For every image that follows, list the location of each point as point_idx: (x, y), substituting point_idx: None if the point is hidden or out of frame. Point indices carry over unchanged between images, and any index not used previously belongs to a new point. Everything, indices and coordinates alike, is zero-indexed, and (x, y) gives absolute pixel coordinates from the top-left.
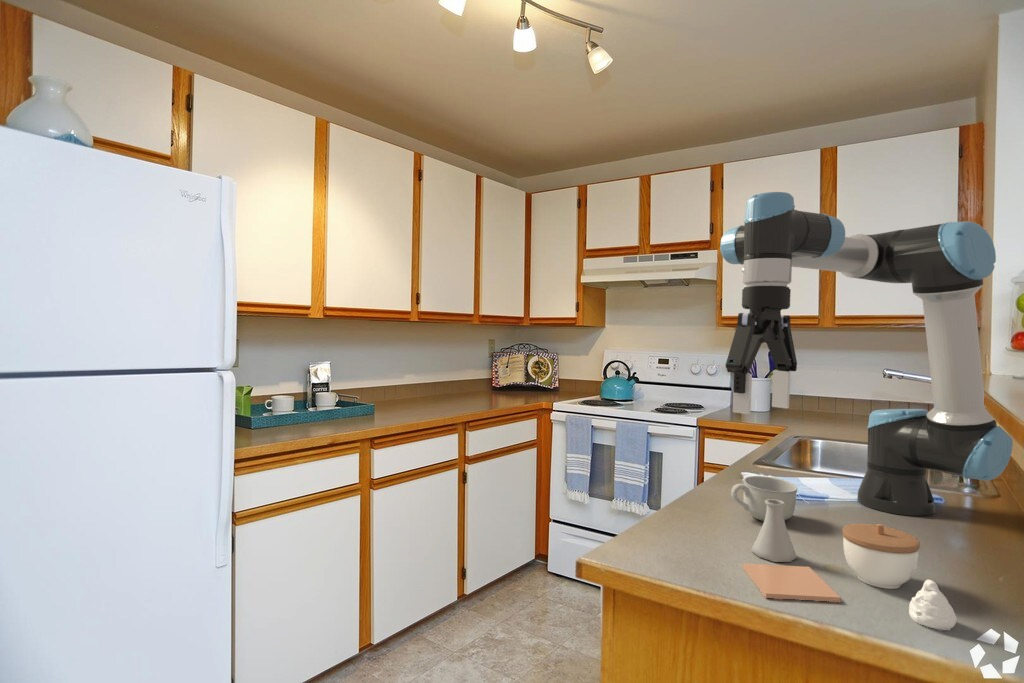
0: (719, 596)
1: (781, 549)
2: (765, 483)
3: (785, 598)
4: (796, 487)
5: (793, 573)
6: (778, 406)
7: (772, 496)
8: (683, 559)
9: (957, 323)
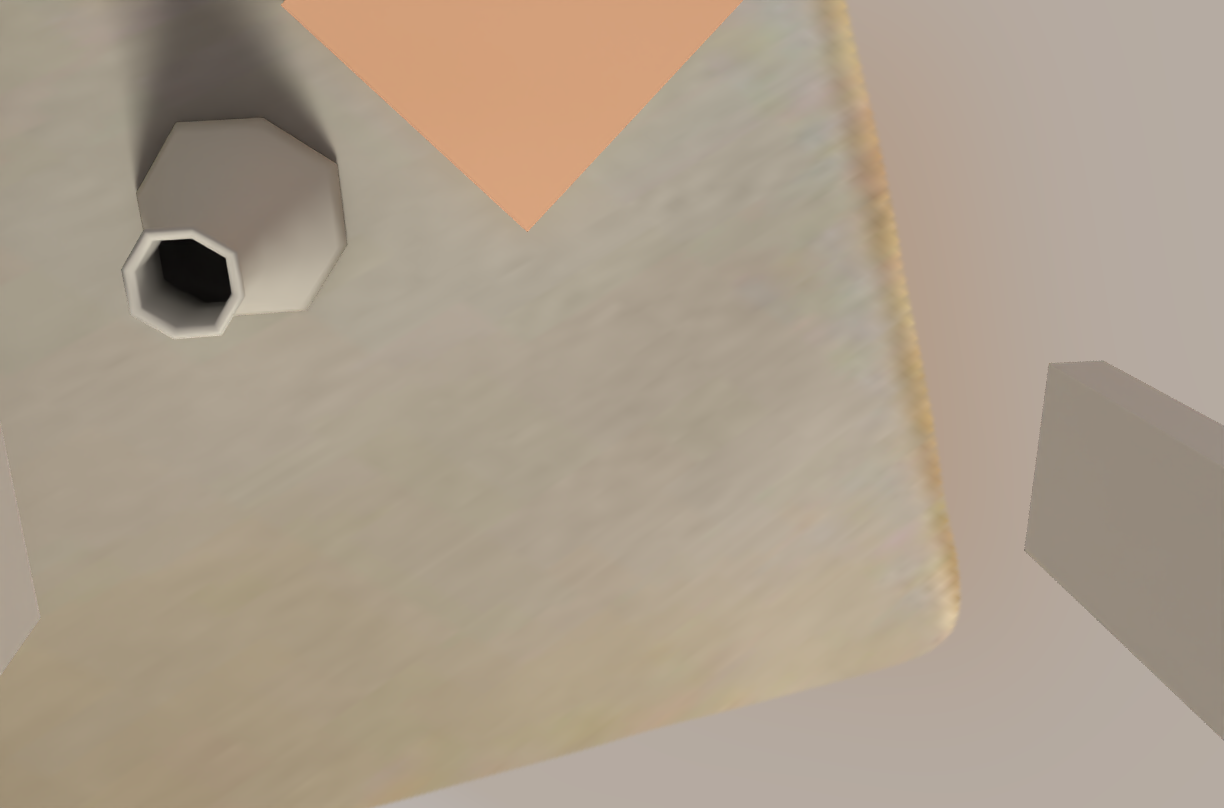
0: (863, 136)
1: (281, 162)
2: None
3: None
4: None
5: (432, 18)
6: (16, 536)
7: None
8: (657, 436)
9: None
